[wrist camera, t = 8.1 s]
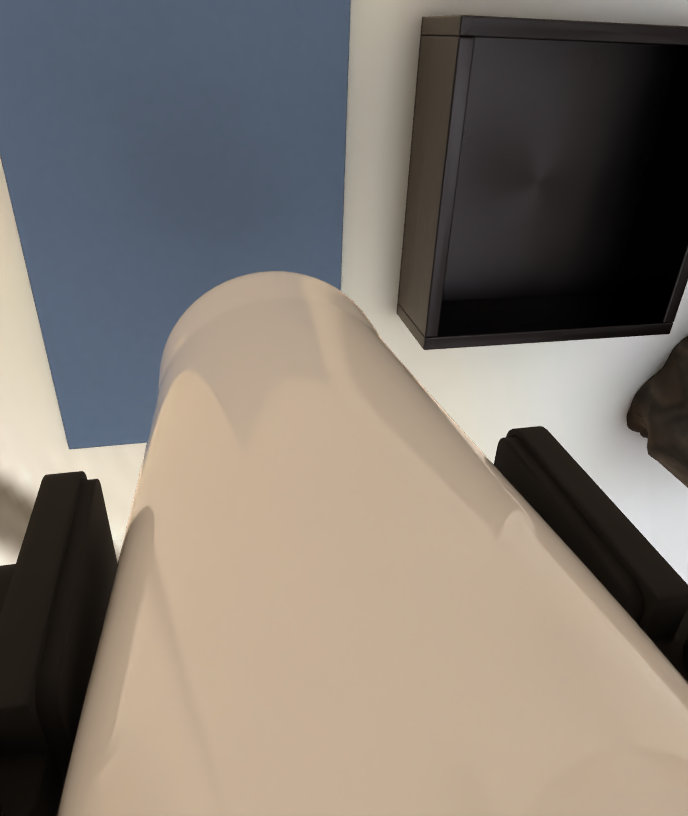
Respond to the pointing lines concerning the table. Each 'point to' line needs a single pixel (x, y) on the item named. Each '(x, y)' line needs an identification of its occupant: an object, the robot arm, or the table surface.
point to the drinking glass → (352, 602)
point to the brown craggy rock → (665, 413)
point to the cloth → (164, 174)
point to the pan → (545, 182)
